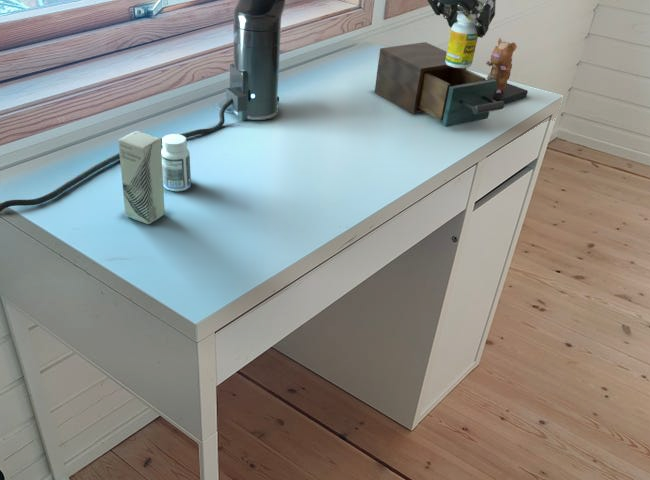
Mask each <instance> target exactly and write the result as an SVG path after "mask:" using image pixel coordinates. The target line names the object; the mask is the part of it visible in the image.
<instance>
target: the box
mask: <svg viewBox="0 0 650 480" xmlns="http://www.w3.org/2000/svg"><path fill="white" fill-rule="evenodd" d="M162 149H163V148H162V144H161V138H160V137H156V136H154V135H151V134H148V133H144V132H142V131H138V130H135V131H132V132H131V133H130V132H129V134H127V135H124V136H123V137H121V138H118V151H119V152H118V153H120V159H119V161H120V173H121V174H120V175H121V182H122V183H121V184H122V193H123V194H122V195H123V205H124V215H125V216H126V217H128V218H130V219H133V220H135V221H138V222H140V223H144V224H146V225H150V224H152V223H154V222H155V221H157V220H158V219H160V218H162V217H163V216H164V215H165V214H166V213H165V196H164V194H165V193H164V183H163V171H162Z"/></svg>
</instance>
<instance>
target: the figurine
mask: <svg viewBox="0 0 650 480" xmlns="http://www.w3.org/2000/svg"><path fill="white" fill-rule="evenodd" d="M517 48H518V47H517V44H516V42H514V41H512V42H508V41H502V38H501V37H499V39H498V41H497V45H495V46H494V48H493V50H492V51H491V55H490V60H487V61H486V63H485V65H487V66H489V67H491V69H490V72H489V73H488V74H487V77H486V80H491V79H494V80H496V81H497V83H496V87H495V91H494V95H493V100H495V101H497V102H498V101H503V102H504V106H505V105H508V104H510V103H513V102H516V101H519V100H522V99H525V98H527V95H528V92H529V90H527V89H525V88H522V87H518V86H516V85H513V84H511V83H508V80H510V77H511V71H512V69H513V54H514V52H515V51H516V50H517Z"/></svg>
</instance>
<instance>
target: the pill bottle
mask: <svg viewBox="0 0 650 480" xmlns="http://www.w3.org/2000/svg"><path fill="white" fill-rule="evenodd" d="M179 134H180V133H179ZM179 134H178V133H170V134H167V135H164V136H163V137H162V138H163V139H162V144H161V146H162V148H161V149H162V171H163V188H165V189H166V190H168V191H171V192H183V191H186V190H188V189H189V188H190V187H191V186H192V185H191V184H192V179H191V178H192V175H191V173H192V172H191V156H190V155H191V154H190V150H189V148H188V142H187V141H188V140H187V138H186V137H185V136H183V135H179Z"/></svg>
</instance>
